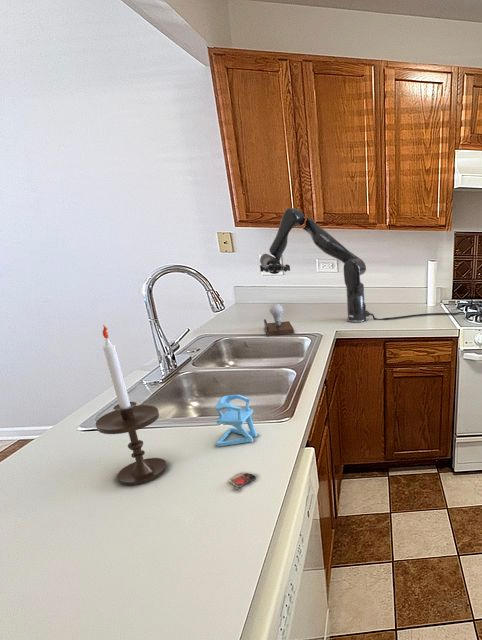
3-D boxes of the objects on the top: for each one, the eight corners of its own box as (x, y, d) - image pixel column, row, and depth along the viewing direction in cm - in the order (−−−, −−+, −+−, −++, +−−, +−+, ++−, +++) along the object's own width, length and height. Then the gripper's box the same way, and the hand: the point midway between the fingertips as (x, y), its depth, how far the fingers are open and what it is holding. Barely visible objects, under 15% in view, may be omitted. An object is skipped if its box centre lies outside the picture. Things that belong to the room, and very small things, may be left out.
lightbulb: (278, 328, 191) (276, 305, 187) (269, 326, 193) (266, 304, 189) (287, 325, 196) (285, 303, 193) (277, 323, 199) (275, 302, 195)
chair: (249, 447, 101) (242, 404, 96) (215, 446, 100) (207, 404, 96) (260, 431, 108) (255, 391, 104) (230, 430, 108) (223, 390, 103)
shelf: (289, 325, 204) (288, 317, 203) (294, 333, 192) (293, 324, 190) (264, 328, 199) (263, 319, 198) (267, 336, 187) (266, 327, 185)
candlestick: (176, 474, 90) (141, 325, 77) (117, 495, 83) (67, 335, 70) (165, 453, 97) (131, 314, 85) (110, 471, 90) (64, 322, 78)
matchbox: (258, 476, 89) (257, 474, 89) (240, 490, 85) (240, 488, 85) (241, 471, 91) (241, 470, 91) (223, 485, 86) (223, 483, 86)
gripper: (257, 258, 206) (260, 262, 193) (286, 258, 212) (290, 261, 199) (259, 273, 209) (262, 278, 195) (287, 272, 215) (292, 276, 201)
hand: (276, 269), depth 197 cm, fingers open, 8 cm apart
